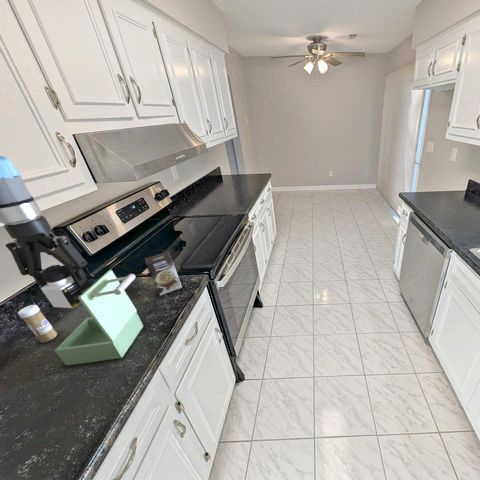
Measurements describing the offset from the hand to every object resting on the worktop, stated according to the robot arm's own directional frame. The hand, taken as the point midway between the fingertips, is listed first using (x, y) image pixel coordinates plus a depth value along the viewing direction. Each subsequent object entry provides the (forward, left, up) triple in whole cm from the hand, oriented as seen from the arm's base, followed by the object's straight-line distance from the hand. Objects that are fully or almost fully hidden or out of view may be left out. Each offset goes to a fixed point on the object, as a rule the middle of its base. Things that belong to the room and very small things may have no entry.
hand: (69, 290), depth 75 cm
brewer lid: (+9, 0, -7) cm, 11 cm away
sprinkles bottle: (-23, +7, -23) cm, 33 cm away
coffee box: (+10, +29, -23) cm, 38 cm away
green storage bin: (+1, 0, -23) cm, 23 cm away
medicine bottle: (0, 0, -4) cm, 4 cm away
